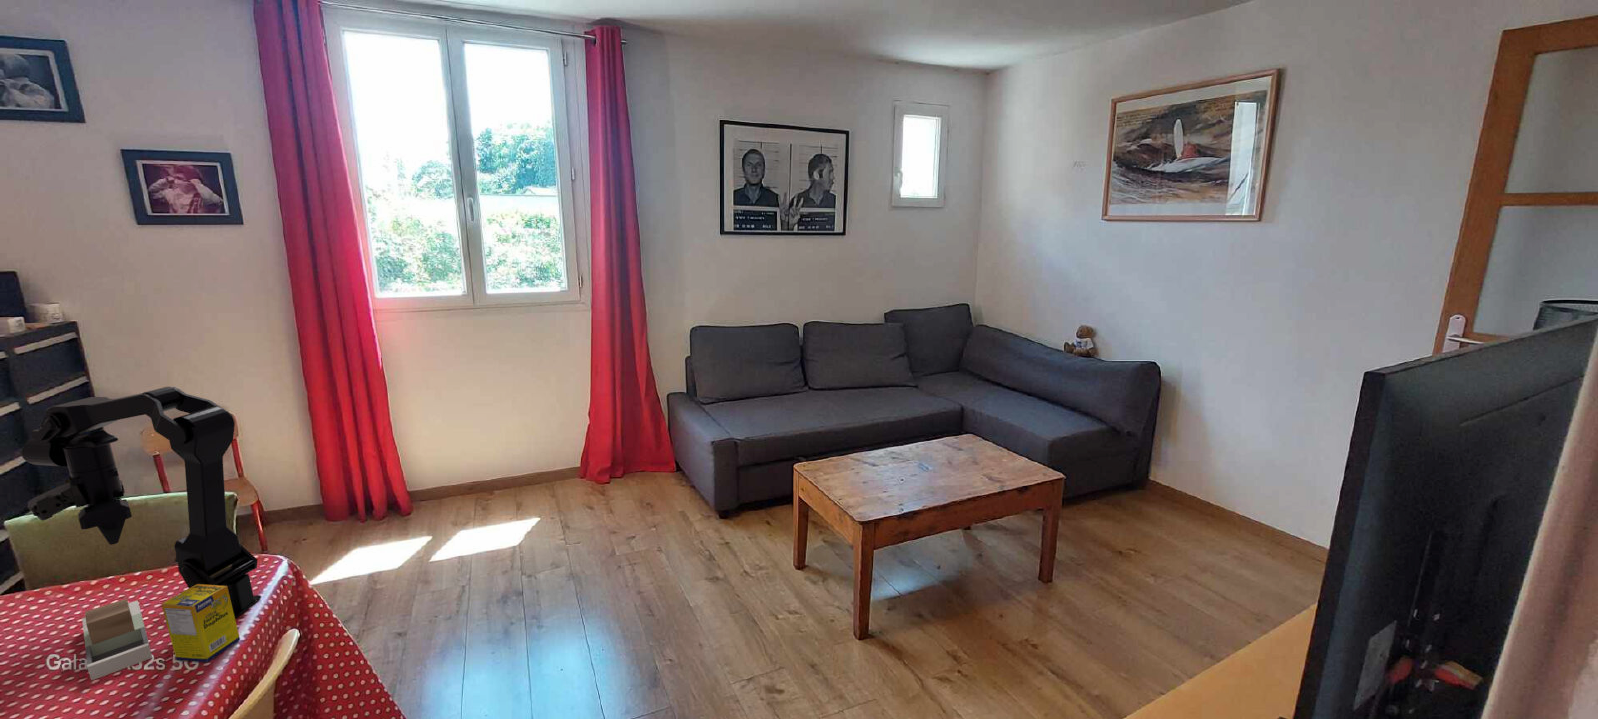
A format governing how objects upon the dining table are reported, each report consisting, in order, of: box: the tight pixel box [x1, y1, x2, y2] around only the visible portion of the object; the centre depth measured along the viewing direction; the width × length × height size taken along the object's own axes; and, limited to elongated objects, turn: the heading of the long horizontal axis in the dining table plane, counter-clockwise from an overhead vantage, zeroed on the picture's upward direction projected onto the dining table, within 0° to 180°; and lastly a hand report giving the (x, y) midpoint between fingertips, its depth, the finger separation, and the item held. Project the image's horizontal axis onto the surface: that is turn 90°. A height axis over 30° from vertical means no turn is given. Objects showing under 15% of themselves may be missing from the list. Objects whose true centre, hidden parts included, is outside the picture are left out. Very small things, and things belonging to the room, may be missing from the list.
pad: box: [83, 612, 148, 657], centre depth 111 cm, size 6×7×2 cm
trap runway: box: [81, 600, 153, 681], centre depth 112 cm, size 22×7×2 cm, turn 49°
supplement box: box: [161, 584, 241, 664], centre depth 108 cm, size 6×6×11 cm
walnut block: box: [84, 598, 135, 645], centre depth 110 cm, size 5×5×4 cm
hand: (114, 543), depth 120 cm, fingers closed
